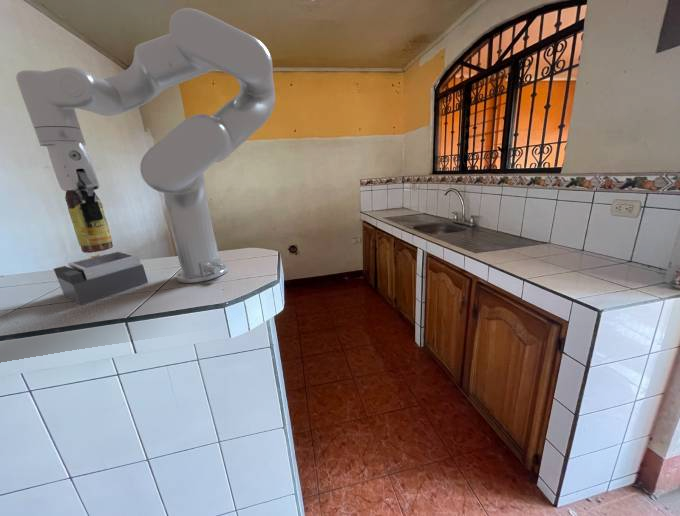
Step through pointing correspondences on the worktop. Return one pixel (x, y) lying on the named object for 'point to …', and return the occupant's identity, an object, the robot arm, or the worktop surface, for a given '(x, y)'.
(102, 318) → the worktop surface
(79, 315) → the worktop surface
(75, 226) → the sauce bottle
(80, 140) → the robot arm
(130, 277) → the grey stepped tray box
